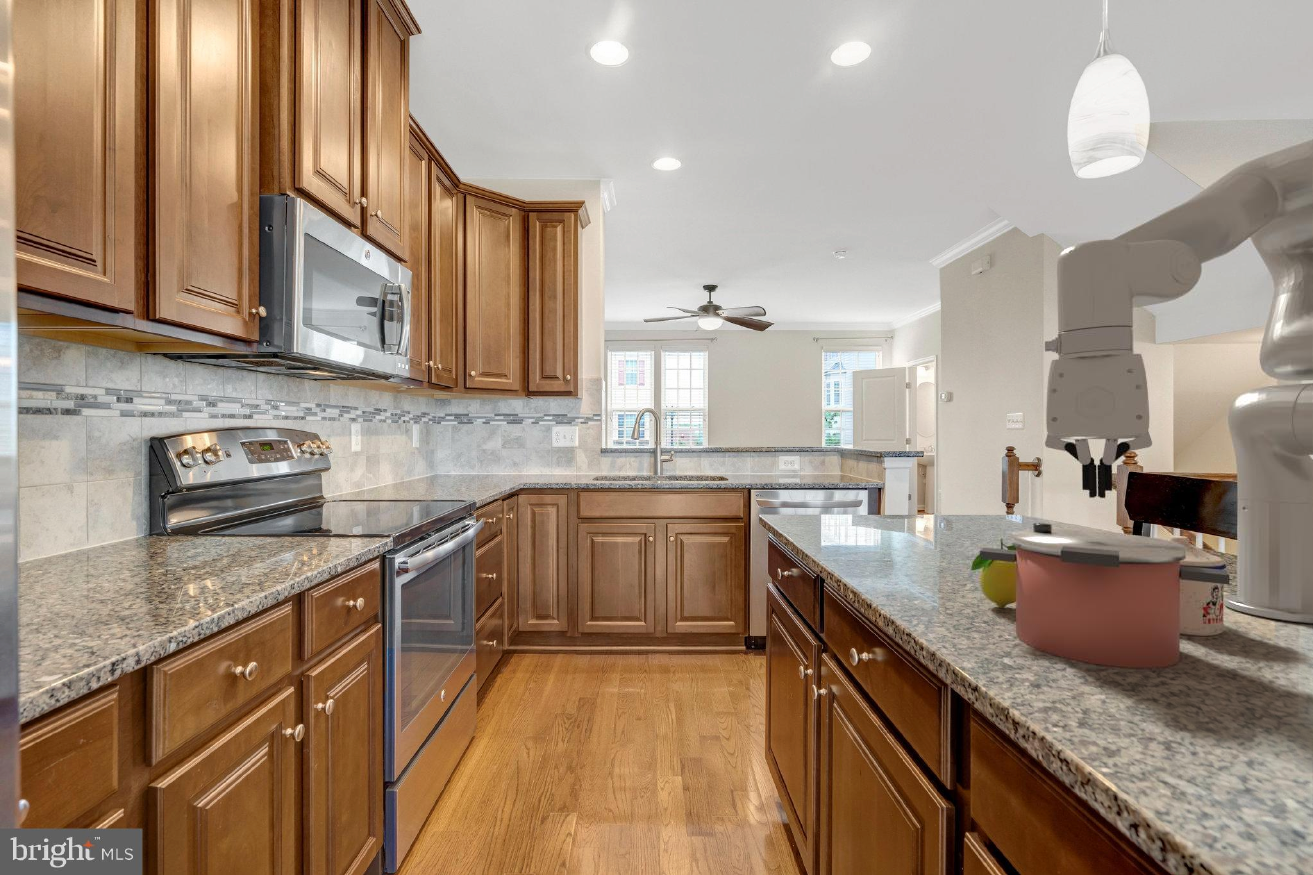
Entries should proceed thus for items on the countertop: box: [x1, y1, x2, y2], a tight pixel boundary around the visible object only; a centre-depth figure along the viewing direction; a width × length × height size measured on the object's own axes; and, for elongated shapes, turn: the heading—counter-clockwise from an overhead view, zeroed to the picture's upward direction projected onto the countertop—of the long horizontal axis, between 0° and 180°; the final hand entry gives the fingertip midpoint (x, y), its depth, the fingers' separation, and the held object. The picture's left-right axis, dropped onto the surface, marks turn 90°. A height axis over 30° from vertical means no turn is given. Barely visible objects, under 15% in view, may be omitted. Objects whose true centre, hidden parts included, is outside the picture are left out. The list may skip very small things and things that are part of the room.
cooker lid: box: [1011, 522, 1186, 567], centre depth 74 cm, size 21×17×2 cm
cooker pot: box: [979, 547, 1230, 669], centre depth 76 cm, size 17×24×11 cm
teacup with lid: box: [1168, 535, 1227, 637], centre depth 83 cm, size 12×9×12 cm
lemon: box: [970, 538, 1016, 609], centre depth 91 cm, size 7×6×10 cm
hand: (1097, 496), depth 78 cm, fingers closed
